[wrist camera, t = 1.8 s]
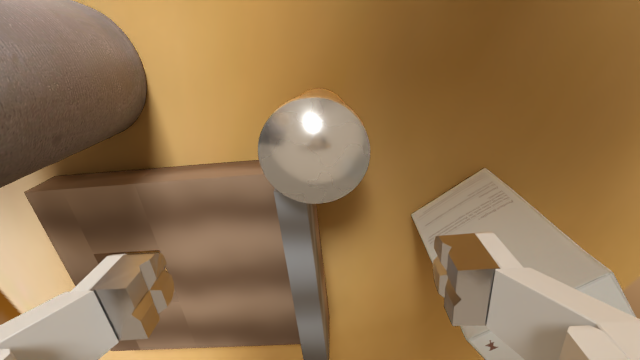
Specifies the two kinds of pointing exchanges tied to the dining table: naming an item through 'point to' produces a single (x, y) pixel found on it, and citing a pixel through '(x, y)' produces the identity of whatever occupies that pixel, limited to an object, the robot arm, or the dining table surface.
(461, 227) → the supplement box
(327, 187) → the frosted bulb shape
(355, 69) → the dining table surface
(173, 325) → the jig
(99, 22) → the pillar candle
